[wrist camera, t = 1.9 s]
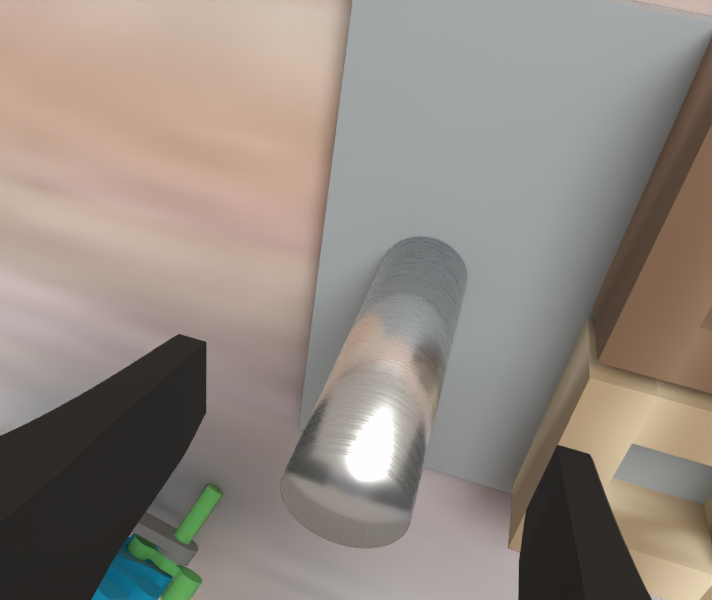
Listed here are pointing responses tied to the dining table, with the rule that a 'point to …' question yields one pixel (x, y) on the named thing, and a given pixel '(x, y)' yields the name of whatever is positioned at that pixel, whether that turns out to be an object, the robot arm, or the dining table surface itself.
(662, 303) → the block walnut
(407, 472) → the pin
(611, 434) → the block birch
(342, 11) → the dining table surface
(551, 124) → the board
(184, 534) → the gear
